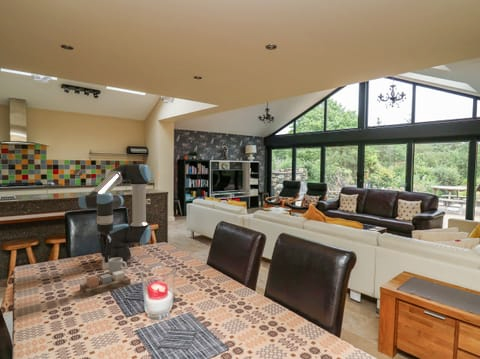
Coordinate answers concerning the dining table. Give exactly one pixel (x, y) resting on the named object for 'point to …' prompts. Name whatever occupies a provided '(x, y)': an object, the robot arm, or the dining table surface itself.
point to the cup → (116, 264)
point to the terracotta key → (92, 281)
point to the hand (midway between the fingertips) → (105, 268)
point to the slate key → (105, 279)
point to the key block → (104, 286)
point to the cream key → (118, 275)
